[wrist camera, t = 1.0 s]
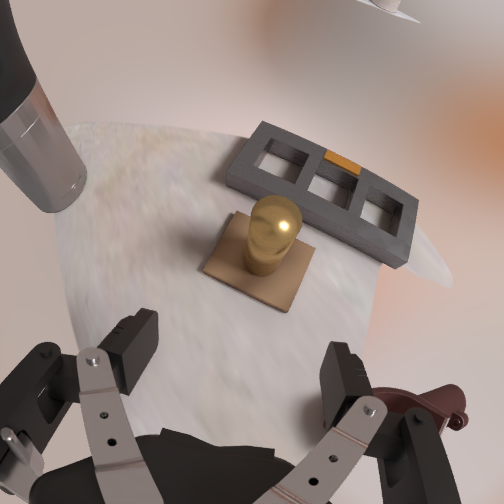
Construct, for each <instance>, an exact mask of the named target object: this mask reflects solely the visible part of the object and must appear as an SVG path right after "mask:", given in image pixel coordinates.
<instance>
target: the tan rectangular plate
mask: <svg viewBox="0 0 504 504" xmlns="http://www.w3.org/2000/svg"><path fill="white" fill-rule="evenodd" d="M249 223H250V216H248V215H246V214H243V213H241V212H239V211H236V213H235V215H234V216H233V218H232V220H231V221H230V223H229V225H228V227H227V228H226V230H225V232H224V233H223V235H222V237H221V239H220V240H219V242H218V244H217V246H216V247H215V249H214V251H213V253H212V255H211V256H210V258H209V260H208V262H207V263H206V265H205V267H204V269H203V272H204V273H206V274H208V275H210V276H212V277H214V278H216V279H217V280H219V281H221V282H223V283H225V284H227V285H229V286H231V287H233V288H235V289H237V290H239V291H241V292H243V293H245V294H247V295H250V296H252V297H254V298H256V299H258V300H260V301H262V302H264V303H266V304H268V305H270V306H272V307H274V308H276V309H278V310H280V311H283V312H285V313H287V312H288V311H289V309H290V306H291V304H292V302H293V300H294V298H295V295H296V293H297V291H298V288H299V286H300V284H301V282H302V279H303V277H304V275H305V272H306V270H307V268H308V265H309V263H310V261H311V258H312V256H313V253H314V251H315V249H316V248H314V247H312V246H310V245H308V244H306V243H304V242H302V241H300V240H298V239H296V238H295V240H294V241H293V243H292V245H291V246H290V248H289V250H288V251H287V253H286V255H285V256H284V258H283V260H282V261H281V263H280V265H279V266H278V268H277V269H276V271H275V272H274V273H272V274H271V275H268V276H264V277H260V276H255V275H253V274H251V273H250V272H249V271H248V270H247V269H246V267H245V266H244V263H243V254H244V249H245V243H246V238H247V233H248V228H249Z"/></svg>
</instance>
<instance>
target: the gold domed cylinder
mask: <svg viewBox="0 0 504 504" xmlns="http://www.w3.org/2000/svg"><path fill="white" fill-rule="evenodd" d="M301 227H302V215H301V212H300V210H299V208H298V207H297V205H296V204H295V203H294V202H292V201H291V200H289V199H288V198H285V197H282V196H278V195H271V196H267V197H264V198H262V199H260V200H259V201H258V202H257V203H256V204H255V205H254V207H253V209H252V212H251V217H250V223H249V228H248V233H247V238H246V243H245V249H244V254H243V263H244V266H245V267H246V269H247V270H248V271H249V272H250V273H251V274H253V275H255V276H260V277H264V276H268V275H271V274H272V273H274V272H275V271H276V269H277V268H278V266H279V265H280V263H281V261H282V260H283V258H284V256H285V255H286V253H287V251H288V250H289V248H290V246H291V245H292V243H293V241H294V240H295V238H296V236H297V235H298V233H299V231H300V229H301Z"/></svg>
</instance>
